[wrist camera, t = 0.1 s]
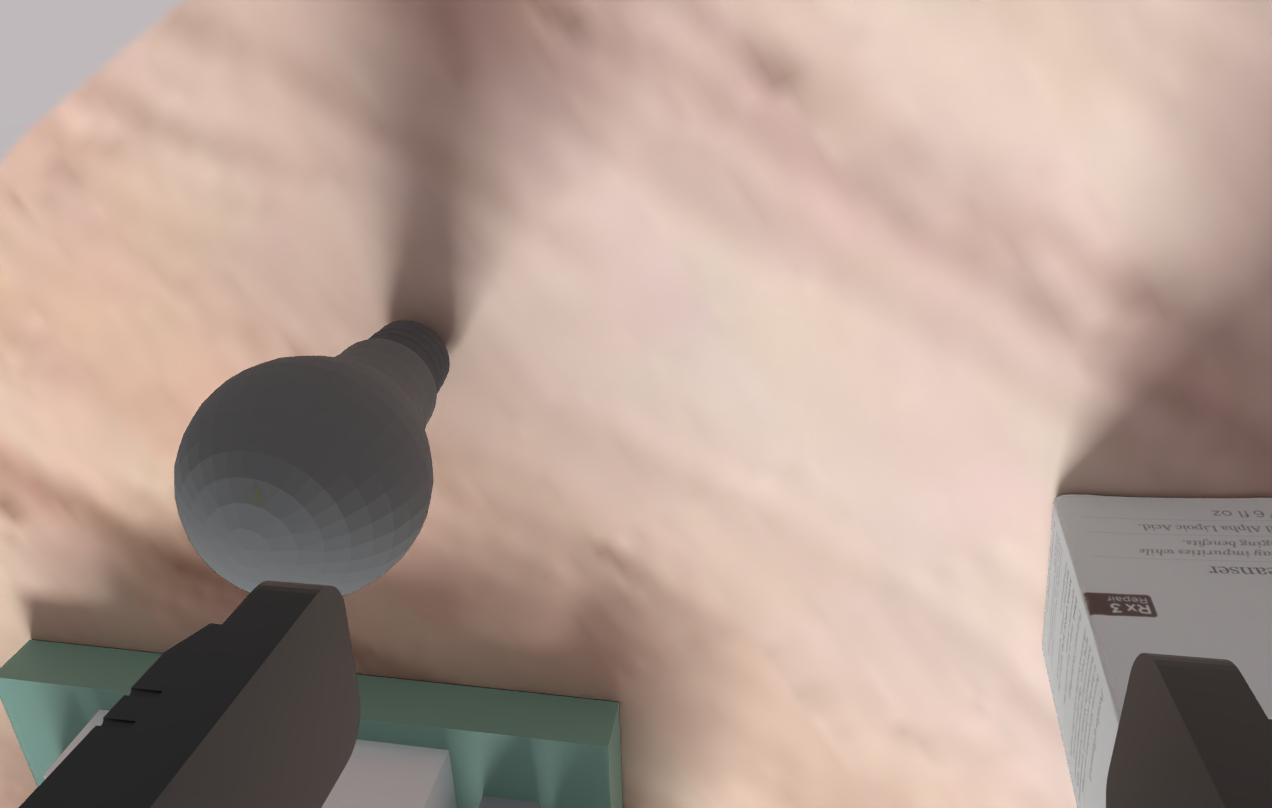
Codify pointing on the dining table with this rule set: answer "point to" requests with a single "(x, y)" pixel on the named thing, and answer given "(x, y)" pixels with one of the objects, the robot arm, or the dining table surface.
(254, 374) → the light bulb
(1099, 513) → the skincare box
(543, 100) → the dining table surface
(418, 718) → the base
